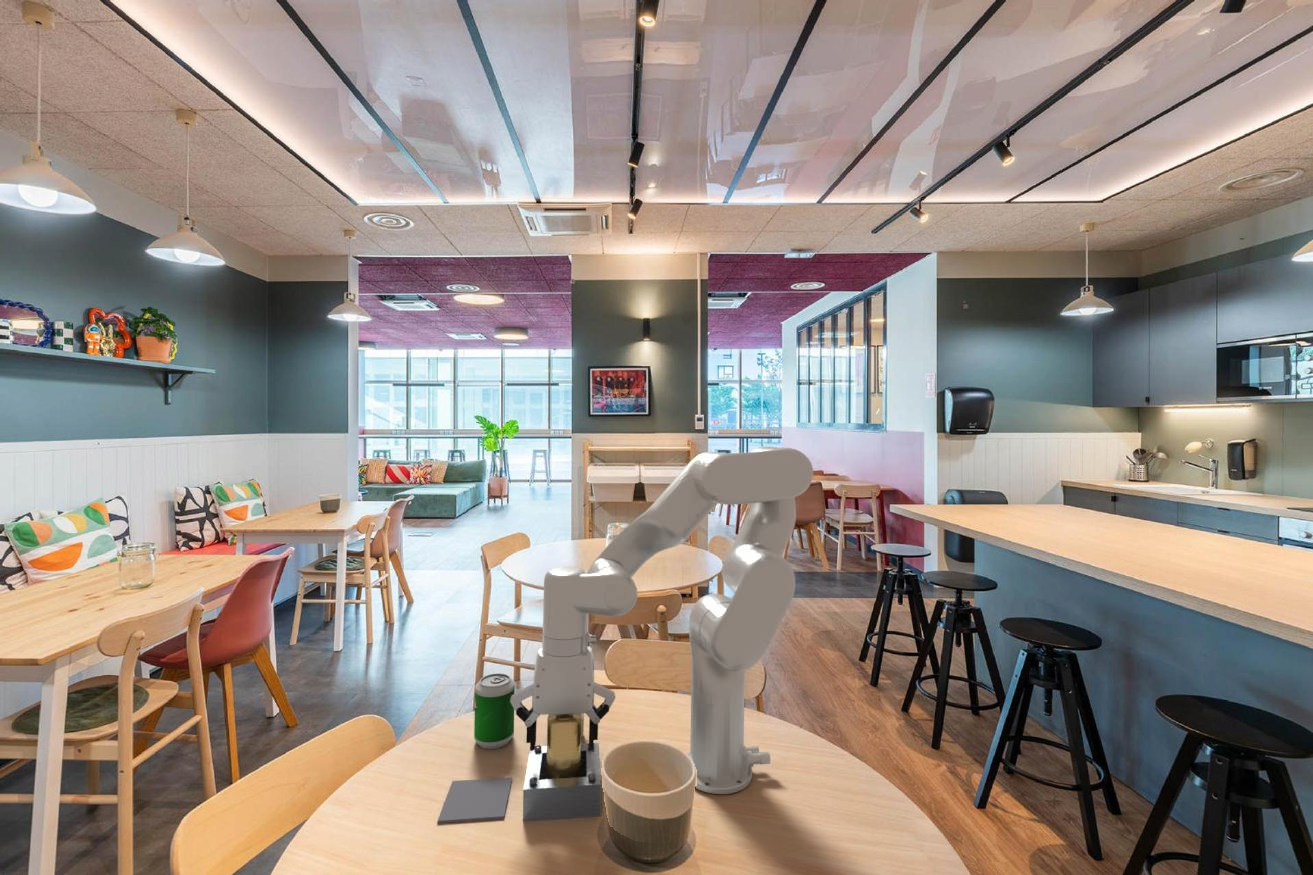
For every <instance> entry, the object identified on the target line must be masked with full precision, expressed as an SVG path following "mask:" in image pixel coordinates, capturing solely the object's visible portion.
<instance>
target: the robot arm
mask: <svg viewBox="0 0 1313 875" xmlns="http://www.w3.org/2000/svg"><path fill="white" fill-rule="evenodd" d="M813 478H814V467H813V465H812V463H811V460H810V459H809V458H808V457H807V455H806V454H804V453H803V452H802V451H800V450H798V449H796V448H791V447H776V446H761V447H756V448H754V449H752V450H750V451H749V452H731V453H730V452H729V453H728V452H717V451H707V452H706V451H705V452H701V453H700V454H698V455H696V456H694V457H693V459H691V460H690V461H689V463H688V464H687V465H686V466H685V467H684V468H683V469H682V470H681V472H679V474H678V475H677V476H676V477H675V478H674V479H673V480H672V482H670V484H669V485H668V486H667V488H665V490H664V491H663V492H662V493H661V494H660V495H659V497H658V498H656V500H655V501H654V502H653V503H652V504H651V505H650V506H649V507H648V509H646V511H644V512H643V513H642V514H640V515H639V516H638V517H636V518H635V519H634V520H633V522H631V523H630V524H629V525H628V526H626V527H625V528H624V529H623V530H622V531H620V532H619V533H618V534H617V535H616V536H615V537H614V538H613V539H612V541H610V543H609V544H607V546H606V547H605V548H604V549H603V551H601V553H599V555H598V556H597V557H596V558H595V560H594V561H593V562H592V564H591V565H590V567H589V569H588V570H586V569H584V568H581V567H577V566H558V567H554V568H551V569H549V570H548V571H547V572H546V573H545V576H544V579H543V605H542V606H543V612H542V616H543V617H542V640H541V641H542V643H541V647H540V648H539V649H537V653H536V654H537V655H536V657H535V658H536V659H535V664H534V665H535V666H534V672H533V681H532V682H533V683H532V684H530V685H529V686H526V687H525V688H523V689H521V690H518V691H517V692H515V694H513V695H512V696H511V699H510V702H511V704H512V706H513V708H514V712H515V715H516V716H517V717H518V718H519V719H520V720H521V721H522V722H524V726H525V727H526V738H525V739H526V740H525V741H526V742H525V743H526V744H530V745H529V752H530V751H533V750H535V746H536V742H537V721H538V718H539V717H540V716H542V715H543V716H548V715H562V714H582V713H584V714H586V715H587V717H588V718H589V719H588V720H589V726H588V743H589V747H590V748H593V745H594V743H595V742H594V741H598V740H599V738H598V737H599V724H600V722H601V720H602V719H603V718H604V717H605V716H606V715H607V714H608V713H609V711H610V709H611V707H612V706H613V703H614V702H615V700H616V692H615V691H613V690H611V689H609V688H607V687H605V686H603V685H601V684H599V683H598V682H595V666H594V655H593V649H592V647H591V646H590V645H593V644H595V645H596V644H597V635H595V634H591V633H590V632H589V615H592V616H593V615H595V616H602V617H610V618H611V617H620V616H624V615H626V614H627V613H628V612H630V611H631V610H632V609H633V608H634V606H635V605H636V604H637V603H636V602H637V599H638V588H637V586H636V583H635V581H634V579H633V577H634V575H635V574H636V573H637V572H638V571H639V570H640V568H642V566H643V565H644V564H645V563H646V562H648V561H649V560H650V559H651V558H652V557H654V556H655V555H657V554H658V553H660V552H662V551H665V550H668V549H673V548H675V547H678V546H680V545H681V544H683V543H685V542H686V541H687V540H688V538H690V537H691V535H692V534H693V533H694V532H695V530H696V529H697V528H698V527H699V526H700V524H701V523H702V522H704V520H705V519H706V517H707V516H708V515H709V514H710V512H712V511H713V510H714V508H715V507H716V506H717V505H718V504H719V505H725V506H726V505H728V506H729V505H730V506H731V505H744V504H750V508H749V511H748V514H747V517H746V519H745V521H744V523H743V525H742V527H741V529H740V531H739V533H738V535H737V536H736V538H735V540H734V542H733V543H732V546H731V548H730V549H729V551H728V553H727V555H726V556H725V558H724V560H723V563H722V568H721V577H722V580H723V582H724V583H725V584H726V586H727V587H728V588H729V589H730V590H731V591H732V592H733V596H732V598H730V597H729V596H726V595H725V594H720V593H709V594H705V595H704V596H702V597H700V598H699V599H698V600H697V601H695V603H694V605H693V607H692V608H691V611H690V613H689V619H688V636H689V637H688V638H689V644H690V645H689V647H690V654H691V655H690V656H691V657H690V658H691V686H690V687H691V689H690V743H689V744H690V745H689V747H690V749H689V753H687V754H686V755H688V756H690V758H691V760H693V762H694V764H695V767H696V769H697V786H696V788H695V789H697V791H698V790H699V791H701V792H704V793H707V794H713V795H730V794H733V793H734V794H735V793H737V792H740V791H741V790H744V789H745V788H746V787H748V786H749V785H750V783H751V781H752V779H753V767H754V765H770V764H771V755H770V752H769V751H760V750H759V746H757V745H756V746H747V747H746V745H745V742H744V741H745V740H744V738H745V694H746V693H745V692H746V689H745V688H746V672H745V671H748V670H749V669H751V668H753V667H754V666H756V665H757V664H758V663H759V662H760V660H761V659H762V658H763V656H764V655H765V654H766V652H767V650H768V648H769V647H770V644H771V643H772V641H773V638H774V637H775V635H776V633H777V631H778V629H779V628H780V625H781V623H782V622H783V619H784V618H785V617H786V616H785V615H786V613H787V612H788V610H789V607H790V606H791V603H792V602H793V598H794V594H795V592H796V590H795V589H796V576H795V573H794V569H793V568H792V566H791V564H790V563H789V562H788V560H786V559H785V558H784V556H783V554H784V551H786V550H785V549H786V547H787V545H788V543H789V541H790V539H791V537H792V535H793V532H794V529H795V526H796V520H797V509H796V508H797V507H796V500H795V498H796V497H798V496H800V495H802V494H804V493H805V492H806V491H807V490H808V489H809V487H810V486H811V485H812V482H813ZM595 695H597V696H600V697H601V698H604V701H603V702H602V703H601V704H600V705H599V706H596V705H595V704H594V703H595ZM530 697H532V700H531V701H532V704H531V705H532V706H531V707H530V709H528V708H527V707H526V706H525V705H524V704H523V701H525V700H526V699H528V698H530Z"/></svg>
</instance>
